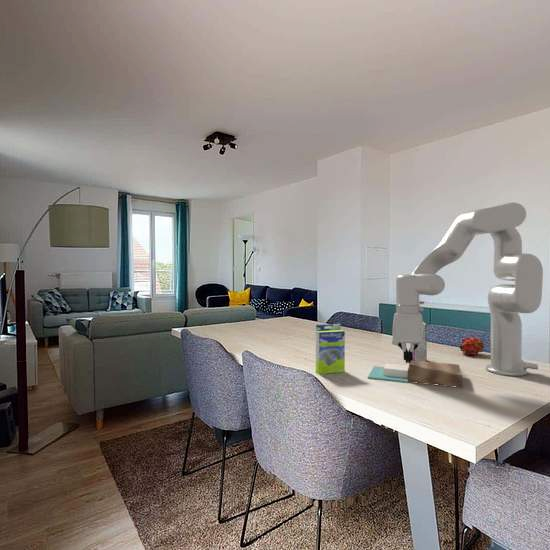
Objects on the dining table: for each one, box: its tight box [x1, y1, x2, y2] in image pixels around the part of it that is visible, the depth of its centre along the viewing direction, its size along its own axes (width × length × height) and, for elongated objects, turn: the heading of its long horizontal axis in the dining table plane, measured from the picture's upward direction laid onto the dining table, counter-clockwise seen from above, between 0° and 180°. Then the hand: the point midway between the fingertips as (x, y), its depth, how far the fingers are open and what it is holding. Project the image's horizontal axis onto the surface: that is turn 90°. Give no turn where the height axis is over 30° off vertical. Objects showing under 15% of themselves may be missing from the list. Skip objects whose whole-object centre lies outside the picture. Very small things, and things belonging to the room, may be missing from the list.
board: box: [408, 361, 463, 388], centre depth 124 cm, size 16×14×4 cm
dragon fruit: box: [459, 335, 485, 357], centre depth 159 cm, size 8×8×12 cm
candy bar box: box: [409, 321, 428, 362], centre depth 147 cm, size 11×5×16 cm, turn 168°
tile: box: [383, 363, 409, 378], centre depth 129 cm, size 8×7×2 cm
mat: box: [367, 365, 409, 383], centre depth 130 cm, size 13×15×1 cm
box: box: [314, 323, 346, 375], centre depth 134 cm, size 10×4×17 cm, turn 106°
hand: (408, 362), depth 128 cm, fingers closed
